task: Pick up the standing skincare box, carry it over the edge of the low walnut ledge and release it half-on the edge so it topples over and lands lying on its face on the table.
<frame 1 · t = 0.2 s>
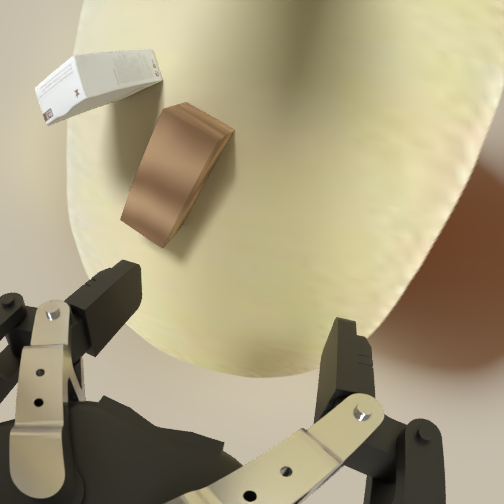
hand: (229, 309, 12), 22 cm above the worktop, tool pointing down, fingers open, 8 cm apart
skincare box: (137, 75, 29), on the worktop
walnut ledge: (182, 168, 34), on the worktop
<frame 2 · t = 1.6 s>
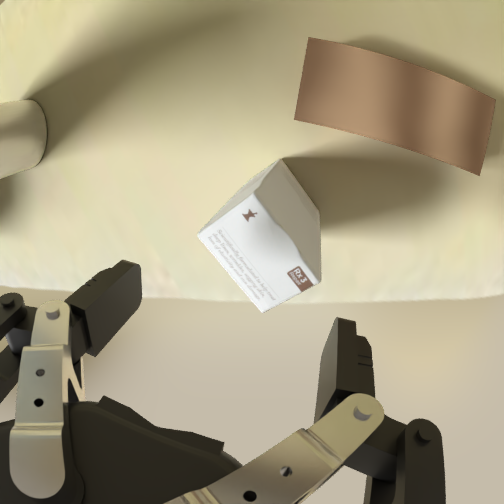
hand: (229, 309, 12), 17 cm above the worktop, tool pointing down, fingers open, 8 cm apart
skincare box: (284, 197, 27), on the worktop
walnut ledge: (389, 105, 22), on the worktop
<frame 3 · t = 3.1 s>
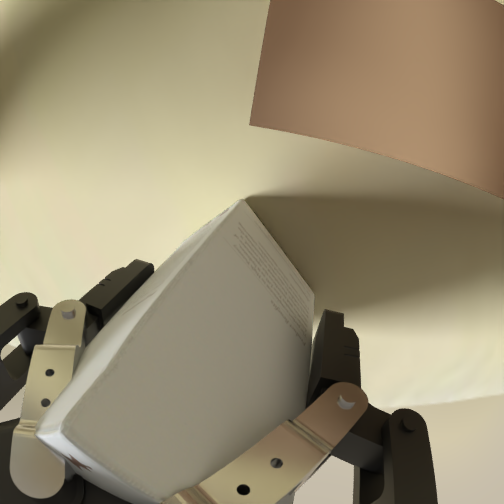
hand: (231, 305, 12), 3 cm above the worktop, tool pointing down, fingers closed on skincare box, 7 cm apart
skincare box: (253, 266, 16), on the worktop, touching gripper
walnut ledge: (450, 98, 10), on the worktop
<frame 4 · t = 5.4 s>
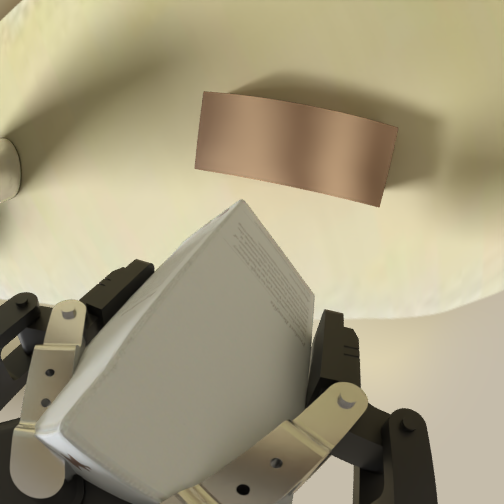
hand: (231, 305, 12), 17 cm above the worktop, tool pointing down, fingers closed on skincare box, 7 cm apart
skincare box: (253, 266, 16), point 14 cm above the worktop, touching gripper
walnut ledge: (298, 139, 25), on the worktop
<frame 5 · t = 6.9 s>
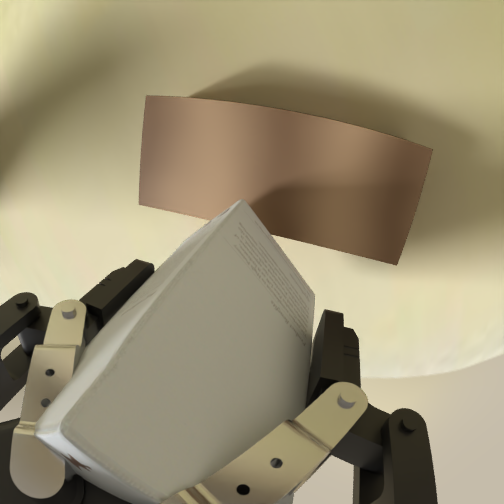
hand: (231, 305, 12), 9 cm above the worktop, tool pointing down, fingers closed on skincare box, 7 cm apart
skincare box: (254, 266, 16), point 6 cm above the worktop, touching gripper
walnut ledge: (286, 158, 19), on the worktop
when the fingers open (9 cm above the worktop, at t = 7.5 s): skincare box drops 3 cm, point 2 cm above the worktop.
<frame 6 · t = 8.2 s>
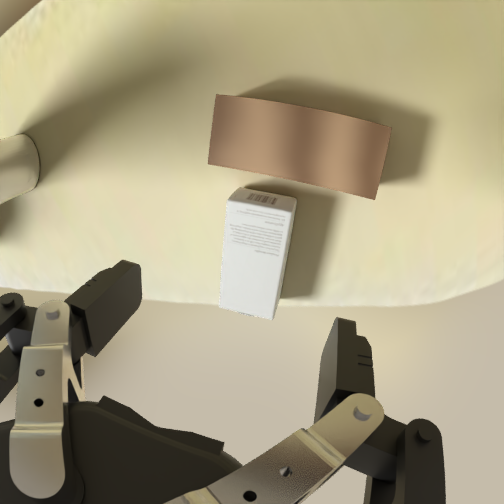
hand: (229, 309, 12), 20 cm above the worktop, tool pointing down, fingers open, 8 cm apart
skincare box: (265, 196, 28), point 2 cm above the worktop
walnut ledge: (302, 138, 28), on the worktop
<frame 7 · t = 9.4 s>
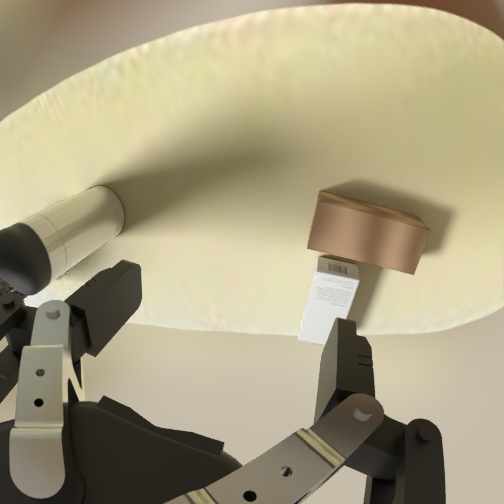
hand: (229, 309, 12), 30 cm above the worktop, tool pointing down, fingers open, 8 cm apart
skincare box: (339, 266, 40), point 2 cm above the worktop
walnut ledge: (365, 225, 39), on the worktop
whiskey bottle: (38, 255, 58), on the worktop
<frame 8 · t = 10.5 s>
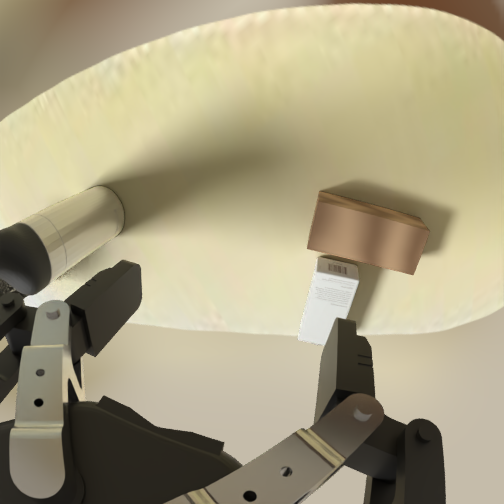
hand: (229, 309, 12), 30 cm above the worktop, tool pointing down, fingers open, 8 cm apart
skincare box: (339, 266, 40), point 2 cm above the worktop
walnut ledge: (365, 225, 39), on the worktop
whiskey bottle: (38, 255, 58), on the worktop
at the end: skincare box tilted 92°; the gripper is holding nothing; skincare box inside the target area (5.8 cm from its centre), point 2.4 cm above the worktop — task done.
